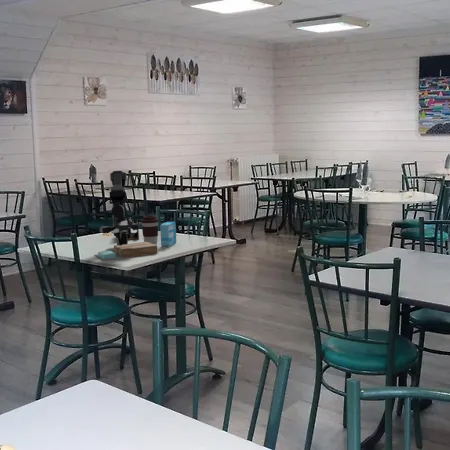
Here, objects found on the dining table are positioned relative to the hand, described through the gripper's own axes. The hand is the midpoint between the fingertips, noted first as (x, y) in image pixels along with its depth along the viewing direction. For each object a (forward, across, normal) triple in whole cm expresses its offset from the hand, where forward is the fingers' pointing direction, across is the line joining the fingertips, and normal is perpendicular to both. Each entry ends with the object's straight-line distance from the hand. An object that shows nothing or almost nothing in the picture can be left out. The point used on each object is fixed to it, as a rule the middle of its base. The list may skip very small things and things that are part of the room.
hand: (120, 245), depth 300 cm
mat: (+5, -6, 0) cm, 8 cm away
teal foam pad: (+3, -7, -1) cm, 8 cm away
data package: (+5, +31, +11) cm, 33 cm away
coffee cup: (+5, +25, +22) cm, 34 cm away
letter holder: (+6, +23, +48) cm, 54 cm away
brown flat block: (+5, +8, 0) cm, 9 cm away
